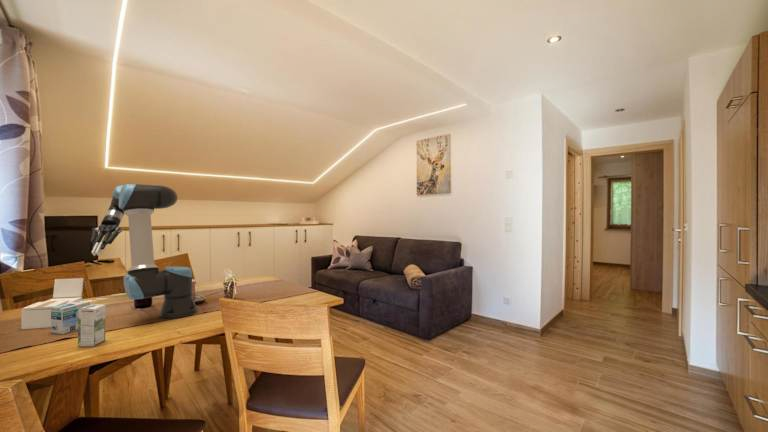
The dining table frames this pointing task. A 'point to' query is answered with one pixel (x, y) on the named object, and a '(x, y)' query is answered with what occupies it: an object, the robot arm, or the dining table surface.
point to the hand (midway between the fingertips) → (95, 253)
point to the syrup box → (91, 325)
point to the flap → (68, 287)
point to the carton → (42, 313)
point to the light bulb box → (66, 317)
